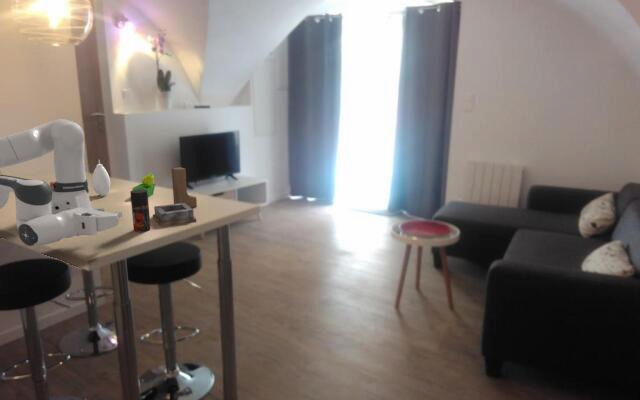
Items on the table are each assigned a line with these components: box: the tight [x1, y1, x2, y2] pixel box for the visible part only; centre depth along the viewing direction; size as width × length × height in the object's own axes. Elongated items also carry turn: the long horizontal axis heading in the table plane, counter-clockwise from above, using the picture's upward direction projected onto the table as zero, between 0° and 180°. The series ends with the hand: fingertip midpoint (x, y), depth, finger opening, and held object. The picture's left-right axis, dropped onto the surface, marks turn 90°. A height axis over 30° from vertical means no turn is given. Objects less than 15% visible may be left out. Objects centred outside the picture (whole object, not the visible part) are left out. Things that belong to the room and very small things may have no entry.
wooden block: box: [171, 166, 198, 209], centre depth 207 cm, size 9×4×18 cm, turn 134°
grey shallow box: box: [152, 203, 197, 227], centre depth 191 cm, size 14×14×5 cm
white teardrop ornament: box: [91, 160, 111, 197], centre depth 226 cm, size 8×8×18 cm
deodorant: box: [129, 189, 151, 233], centre depth 176 cm, size 6×6×15 cm
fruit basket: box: [131, 172, 156, 198], centre depth 227 cm, size 11×9×11 cm
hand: (111, 212), depth 165 cm, fingers open, 8 cm apart
